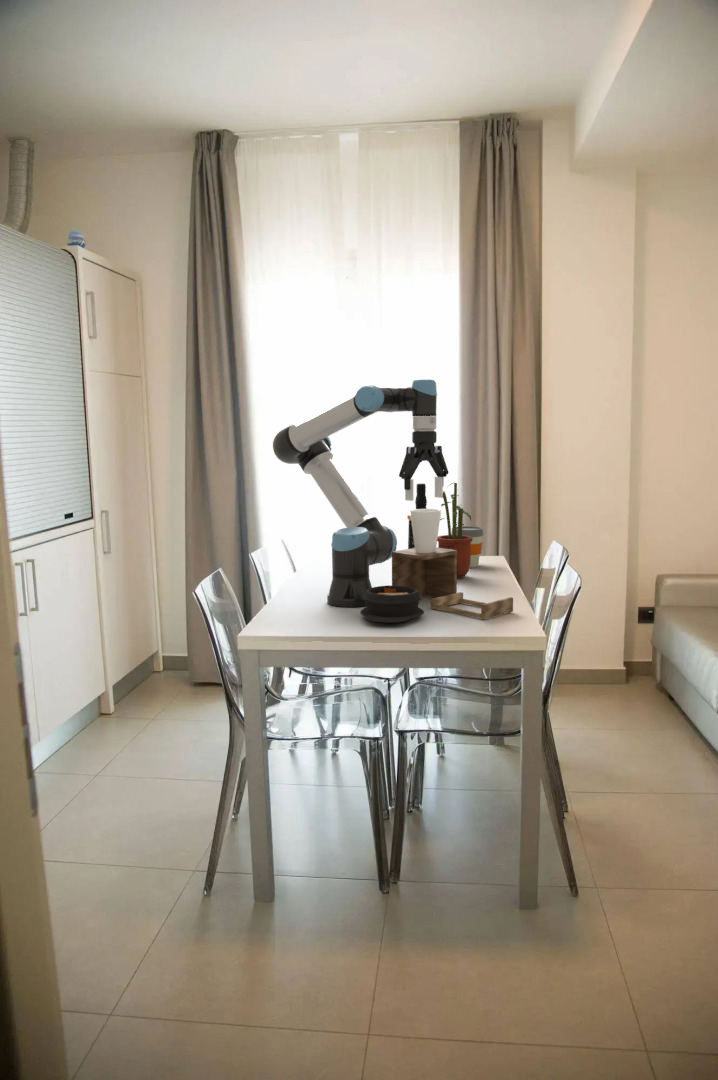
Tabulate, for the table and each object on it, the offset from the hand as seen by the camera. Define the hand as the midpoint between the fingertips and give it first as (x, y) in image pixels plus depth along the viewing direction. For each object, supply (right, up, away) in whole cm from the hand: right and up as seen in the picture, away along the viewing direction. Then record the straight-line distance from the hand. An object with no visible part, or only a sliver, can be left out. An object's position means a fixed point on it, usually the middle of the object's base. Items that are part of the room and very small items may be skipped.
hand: (424, 499), depth 254 cm
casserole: (-11, -36, -17) cm, 41 cm away
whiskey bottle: (+5, -22, +80) cm, 83 cm away
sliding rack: (+14, -34, -9) cm, 38 cm away
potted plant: (+13, -26, +47) cm, 55 cm away
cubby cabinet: (0, -32, +5) cm, 33 cm away
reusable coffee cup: (+22, -23, +69) cm, 76 cm away
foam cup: (+1, -17, +2) cm, 17 cm away
